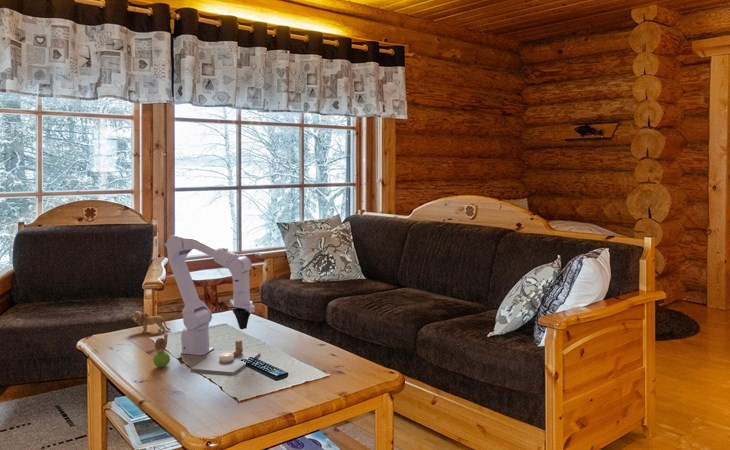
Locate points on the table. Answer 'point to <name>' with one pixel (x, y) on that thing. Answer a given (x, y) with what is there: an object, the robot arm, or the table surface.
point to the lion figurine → (148, 320)
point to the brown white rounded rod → (230, 356)
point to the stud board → (223, 363)
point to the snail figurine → (161, 352)
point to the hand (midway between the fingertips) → (243, 328)
